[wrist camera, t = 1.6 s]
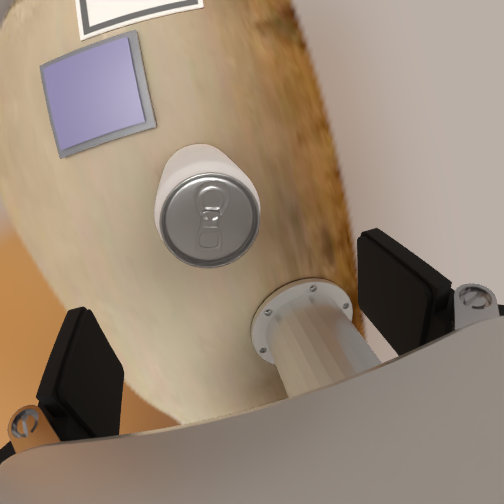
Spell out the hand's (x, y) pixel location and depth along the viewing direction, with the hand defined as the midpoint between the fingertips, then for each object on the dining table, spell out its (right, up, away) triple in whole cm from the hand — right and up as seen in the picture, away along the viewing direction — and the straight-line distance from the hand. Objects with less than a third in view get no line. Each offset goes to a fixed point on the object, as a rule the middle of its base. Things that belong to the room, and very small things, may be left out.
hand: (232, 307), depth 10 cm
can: (-4, +8, +18) cm, 20 cm away
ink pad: (-13, +15, +12) cm, 24 cm away
